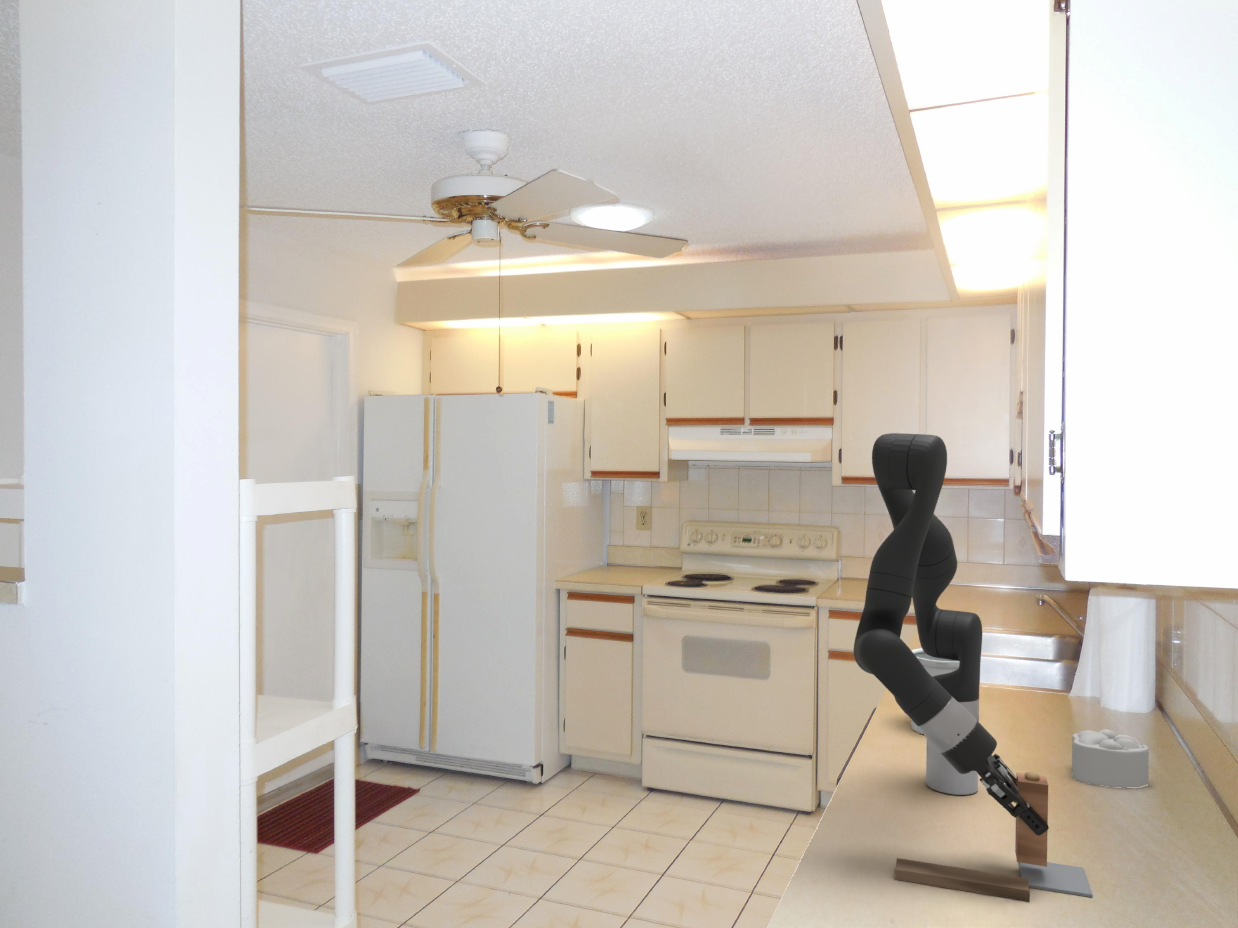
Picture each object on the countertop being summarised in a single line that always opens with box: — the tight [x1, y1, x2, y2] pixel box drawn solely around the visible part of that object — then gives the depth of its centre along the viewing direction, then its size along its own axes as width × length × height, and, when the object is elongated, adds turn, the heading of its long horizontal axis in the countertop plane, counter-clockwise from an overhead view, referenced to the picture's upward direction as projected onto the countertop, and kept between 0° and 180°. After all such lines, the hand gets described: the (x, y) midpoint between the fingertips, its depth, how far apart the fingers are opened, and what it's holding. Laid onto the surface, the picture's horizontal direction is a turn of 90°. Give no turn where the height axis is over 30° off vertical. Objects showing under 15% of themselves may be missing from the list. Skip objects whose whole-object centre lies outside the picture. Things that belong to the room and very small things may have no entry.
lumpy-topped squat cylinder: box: [1071, 728, 1150, 788], centre depth 174 cm, size 10×13×9 cm
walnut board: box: [894, 857, 1031, 902], centre depth 130 cm, size 4×18×2 cm, turn 70°
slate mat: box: [1018, 861, 1094, 898], centre depth 133 cm, size 9×9×1 cm
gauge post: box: [1014, 771, 1049, 867], centre depth 134 cm, size 4×4×13 cm
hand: (1042, 824), depth 133 cm, fingers closed on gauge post, 4 cm apart
